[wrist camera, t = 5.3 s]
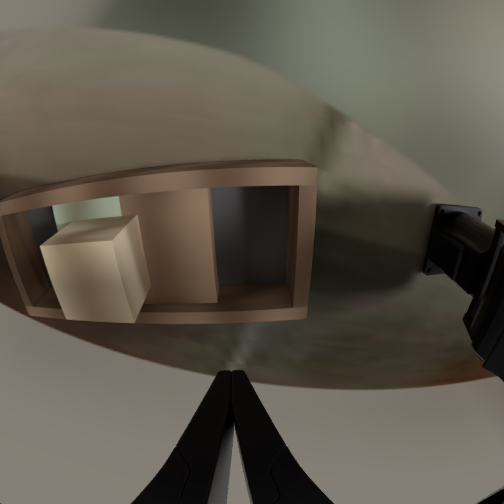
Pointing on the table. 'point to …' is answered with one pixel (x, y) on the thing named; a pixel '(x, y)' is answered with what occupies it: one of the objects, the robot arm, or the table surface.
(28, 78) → the table surface
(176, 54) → the table surface
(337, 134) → the table surface
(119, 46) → the table surface
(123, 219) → the block
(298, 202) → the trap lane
